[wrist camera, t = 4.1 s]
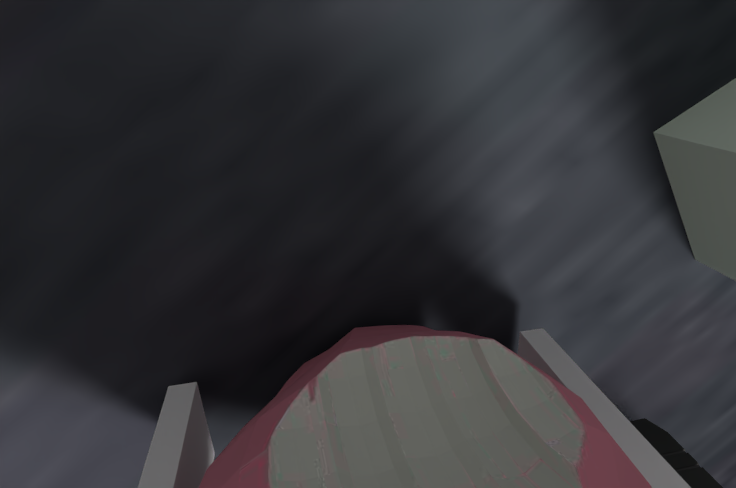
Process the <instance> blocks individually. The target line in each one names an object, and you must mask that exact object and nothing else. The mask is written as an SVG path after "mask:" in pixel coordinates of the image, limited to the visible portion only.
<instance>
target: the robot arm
mask: <svg viewBox="0 0 736 488" xmlns="http://www.w3.org/2000/svg"><path fill="white" fill-rule="evenodd" d="M518 355H519V356H521V357H522V358H524V359H525V360H527V361H528V362H530V363H531V364H533V365H535V366H536V367H538V368H539V369H541V370H542V371H544V372H545V373H547V374H548V375H549V376H551V377H552V378H554V379H555V380H556V381H558V382H559V383H561V384H562V385H564V386H565V387H566V388H568V389H569V390H571V391H572V392H573V393H575V394H576V395H578V396H579V397H581V398H582V399H583V401H584V402H585V403H586V404H587V406H588V407H589V408H590V410H591V411H592V412H593V413H594V415H595V416H596V417H597V419H598V420H599V421H600V422H601V424H602V425H603V426H604V428H605V429H606V430H607V431H608V433H609V434H610V435H611V436H612V438H613V439H614V440H615V441H616V443H617V444H618V445H619V446H620V448H621V449H622V450H623V451H624V453H625V454H626V455H627V456H628V458H629V459H630V460H631V461H632V463H633V464H634V465H635V466H636V468H637V469H638V470H639V471H640V473H641V474H642V475H643V476H644V478H645V479H646V480H647V481H648V483H649V484H650V485H651V487H652V488H723V487H722V486H721V485H720V484H719V483H718V482H717V481H716V480H715V479H714V478H713V477H712V476H711V475H710V474H709V473H708V472H707V471H706V470H705V469H704V468H703V467H702V468H701V467H700V466H699V463H698V462H697V461H696V460H695V459H694V458H693V457H692V456H691V455H690V454H689V453H686V452H685V449H684V448H683V447H682V446H681V445H680V444H679V443H678V442H677V441H676V440H675V439H674V438H673V437H672V436H671V435H670V434H669V433H668V432H666V431H665V430H663V429H661V428H660V427H658V426H656V425H655V424H653V423H652V422H650V421H648V420H647V419H640V420H634V421H629V420H628V419H627V418H626V417H625V416H624V415H623V414H622V413H621V412H620V411H619V410H618V409H617V407H616V406H615V405H614V404H613V403H612V402H611V401H610V400H609V399H608V398H607V397H606V396H605V395H604V393H603V392H602V391H601V390H600V389H599V388H598V387H597V386H596V385H595V384H594V383H593V382H592V381H591V379H590V378H589V377H588V376H587V375H586V374H585V373H584V372H583V371H582V370H581V369H580V368H579V367H578V365H577V364H576V363H575V362H574V361H573V360H572V359H571V358H570V357H569V356H568V355H567V354H566V353H565V351H564V350H563V349H562V348H561V347H560V346H559V345H558V344H557V343H556V342H555V341H554V340H553V339H552V337H551V336H550V335H549V334H548V333H547V332H546V331H545V330H544V329H543V328H541V329H534V330H528V331H521V332H520V337H519V347H518ZM214 455H215V453H214V449H213V445H212V441H211V437H210V433H209V429H208V425H207V421H206V417H205V413H204V409H203V404H202V400H201V396H200V392H199V388H198V384H197V382H192V383H186V384H179V385H173V386H168V389H167V392H166V396H165V399H164V402H163V406H162V409H161V412H160V416H159V419H158V422H157V426H156V429H155V432H154V436H153V439H152V442H151V445H150V449H149V452H148V455H147V459H146V462H145V465H144V469H143V472H142V475H141V479H140V482H139V485H138V488H199V486H200V484H201V481H202V479H203V477H204V475H205V472H206V470H207V469H208V467H209V466H210V465H211V464H212V463H213V462H214Z"/></svg>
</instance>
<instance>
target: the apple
mask: <svg viewBox="0 0 736 488" xmlns="http://www.w3.org/2000/svg"><path fill="white" fill-rule="evenodd" d="M199 488H652V487H651V485H650V484H649V483H648V481H647V480H646V479H645V478H644V476H643V475H642V474H641V473H640V471H639V470H638V469H637V468H636V466H635V465H634V464H633V463H632V461H631V460H630V459H629V458H628V456H627V455H626V454H625V453H624V451H623V450H622V449H621V448H620V446H619V445H618V444H617V443H616V441H615V440H614V439H613V438H612V436H611V435H610V434H609V433H608V431H607V430H606V429H605V428H604V426H603V425H602V424H601V422H600V421H599V420H598V419H597V417H596V416H595V415H594V413H593V412H592V411H591V410H590V408H589V407H588V406H587V404H586V403H585V402H584V401H583V399H582V398H581V397H579V396H578V395H576V394H575V393H573V392H572V391H571V390H569V389H568V388H566V387H565V386H564V385H562V384H561V383H559V382H558V381H556V380H555V379H554V378H552V377H551V376H549V375H548V374H547V373H545V372H544V371H542V370H541V369H539V368H538V367H536V366H535V365H533V364H531V363H530V362H528V361H527V360H525V359H524V358H522V357H521V356H519V355H517V354H516V353H514V352H513V351H511V350H510V349H508V348H507V347H505V346H504V345H502V344H500V343H499V342H497V341H496V340H494V339H491V338H487V337H482V336H478V335H473V334H469V333H464V332H460V331H437V330H432V329H430V328H427V327H424V326H416V325H383V326H371V327H358V328H354V329H353V330H351V331H350V332H349V333H348V334H347V335H345V336H344V337H343V338H342V339H341V340H339V341H338V342H337V343H336V344H335V345H333V346H332V347H331V348H330V349H329V350H327V351H325V352H323V353H321V354H320V355H318V356H316V357H314V358H313V359H311V360H309V361H307V362H305V363H304V364H303V365H302V366H301V367H300V368H299V369H298V370H297V371H296V372H295V373H294V374H293V375H292V376H291V377H290V378H289V379H288V381H287V382H286V383H285V385H284V386H283V387H282V388H281V390H280V391H279V392H278V394H277V395H276V396H275V397H274V398H273V399H272V400H271V401H270V402H269V403H268V404H267V405H266V406H265V407H264V408H263V409H262V410H261V411H260V412H259V413H258V414H256V415H255V416H254V417H253V418H252V419H251V420H250V421H249V422H248V423H247V424H246V425H245V426H244V427H243V428H242V429H241V430H240V431H239V433H238V434H237V435H236V436H235V437H234V438H233V440H232V441H231V442H230V443H229V444H228V445H227V447H226V448H225V449H224V450H223V451H222V452H221V453H220V455H219V456H218V457H217V458H216V459H215V460H214V462H213V463H212V464H211V465H210V466H209V467H208V469H207V470H206V472H205V475H204V477H203V479H202V481H201V484H200V486H199Z"/></svg>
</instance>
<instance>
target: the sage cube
mask: <svg viewBox="0 0 736 488" xmlns="http://www.w3.org/2000/svg"><path fill="white" fill-rule="evenodd" d="M653 133H654V136H655V139H656V142H657V145H658V148H659V152H660V155H661V158H662V161H663V164H664V167H665V170H666V173H667V176H668V179H669V182H670V185H671V188H672V191H673V194H674V197H675V200H676V203H677V206H678V209H679V212H680V215H681V218H682V221H683V224H684V228H685V231H686V234H687V237H688V240H689V243H690V246H691V249H692V252H693V255H694V258H695V260H697V261H699V262H701V263H703V264H704V265H706V266H708V267H710V268H712V269H714V270H716V271H718V272H720V273H722V274H724V275H725V276H727V277H729V278H731V279H733V280H735V281H736V78H735V79H734V80H732V81H731V82H729V83H727V84H726V85H724V86H723V87H721V88H720V89H718V90H717V91H715V92H714V93H712V94H711V95H709V96H708V97H706V98H705V99H703V100H702V101H700V102H699V103H697V104H696V105H694V106H693V107H691V108H689V109H688V110H686V111H685V112H683V113H682V114H680V115H679V116H677V117H676V118H674V119H673V120H671V121H670V122H668V123H667V124H665V125H664V126H662V127H661V128H659V129H658V130H656V131H655V132H653Z"/></svg>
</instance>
